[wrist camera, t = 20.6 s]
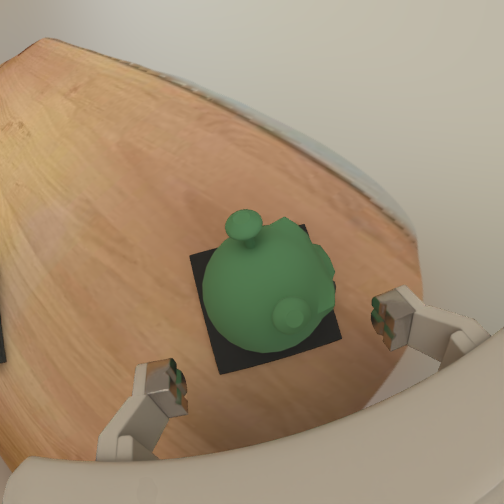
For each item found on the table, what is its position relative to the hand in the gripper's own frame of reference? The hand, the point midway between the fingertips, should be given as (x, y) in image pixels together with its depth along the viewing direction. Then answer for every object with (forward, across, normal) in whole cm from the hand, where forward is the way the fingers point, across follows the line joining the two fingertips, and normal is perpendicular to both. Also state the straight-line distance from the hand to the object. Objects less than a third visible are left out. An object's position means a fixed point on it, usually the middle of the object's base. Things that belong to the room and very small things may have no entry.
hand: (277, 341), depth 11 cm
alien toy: (+9, -1, +5) cm, 10 cm away
